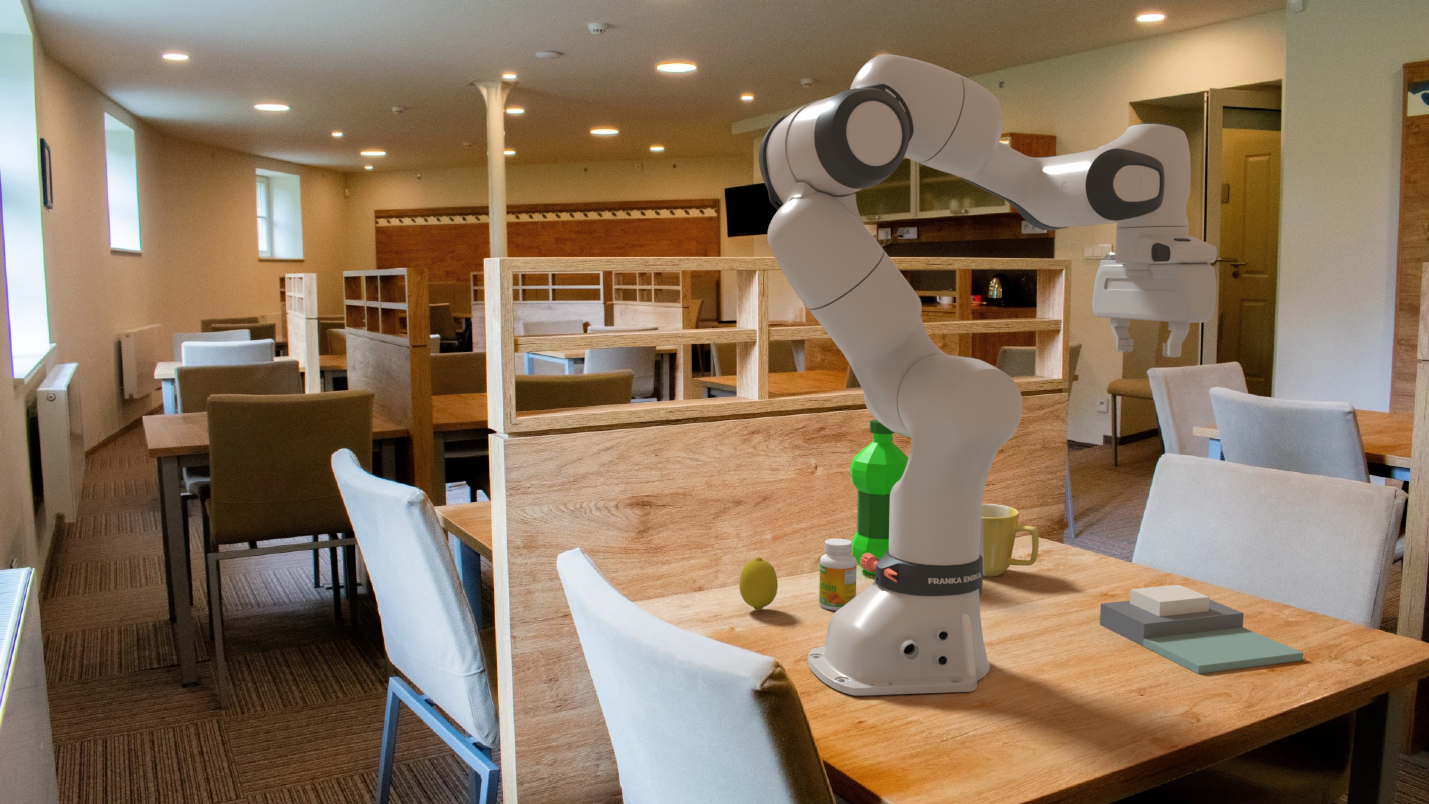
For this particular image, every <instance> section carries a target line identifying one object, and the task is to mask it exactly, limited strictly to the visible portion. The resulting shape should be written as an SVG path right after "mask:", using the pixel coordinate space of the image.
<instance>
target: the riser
mask: <svg viewBox="0 0 1429 804" xmlns="http://www.w3.org/2000/svg"><path fill="white" fill-rule="evenodd" d="M1099 610H1100V613H1099V625H1101V626H1102V627H1104V628H1107V629H1108V630H1111V631H1112V632H1114V633H1116V634H1118V635H1120V636H1122V637H1124V638H1125V639H1128V640H1130V641H1132V642H1134V641H1135V642H1134V643H1137V644H1138V645H1140V644H1141V645H1140V646H1142V647H1144V646H1143V640H1144V639H1146V638H1154V637H1163V636H1172V635H1181V634H1189V633H1198V632H1207V631H1215V630H1224V629H1233V628H1242V627H1243V628H1244V615H1245V612H1242V611H1239V610H1237V609H1235V608H1232V607H1230V606H1227V605H1224V604H1222V603H1219V602H1217V601H1215V600H1213V599H1211V598H1209V611H1206V612H1197V613H1188V614H1178V615H1169V616H1160V617H1159V616H1157V615H1155V614H1153V613H1150V612H1148V611H1146V610H1144V609H1142V608H1139V607H1137V606H1135V605H1133V604H1130V600H1123V601H1112V602H1104V603H1103V602H1102V603H1100V609H1099Z"/></svg>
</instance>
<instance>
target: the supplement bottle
mask: <svg viewBox="0 0 1429 804" xmlns="http://www.w3.org/2000/svg"><path fill="white" fill-rule="evenodd" d="M824 551H825V552H826V553H825V554H823V555H822V556H820V559H819V593H818V595H819V596H818V597H819V598H818V601H819V606H820V607H821V608H822V609H825V610H830V611H835V612H836V611H837V610H839V609H840V608H842V607H843V606H844V605H845V604H847V603H848V602H849V601H851V600H852V599H853V598H854V597H856V596H857V569H858V567H857V565H858V564H857V562H856V558H855V557H854V556H853V554H852V540H849V539H845V538H838V537H837V538H829V539H826V540H825V541H824Z"/></svg>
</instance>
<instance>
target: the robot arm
mask: <svg viewBox="0 0 1429 804" xmlns="http://www.w3.org/2000/svg"><path fill="white" fill-rule="evenodd" d="M1003 126H1004V117H1003V111H1002V108H1001V104H1000V101H999V99H998V98H997V96H995V95H994V93H992V92H991V91H989V90H988V89H987V88H986V87H984V86H983V85H981V84H979V82H977V81H974V80H972V79H970V78H968V77H965V76H964V75H961V74H959V73H956V72H955V71H953V70H952V71H951V70H949V69H947V68H944V67H943V66H940V65H937V64H933V63H931V62H927V61H923V60H921V59H915V58H913V57H907V56H903V55H896V54H892V53H886V54H885V53H884V54H880V55H877V56H875V57H872V58H871V59H870V60H868V61H867V62H866V63H864V65H863V66H861V68H860V69H859V70H858V72H857V73H856V74H855V77H854V78H853V81H852V83H851V84H850V89H846V90H843V91H841V92H839V93H837V94H835V95H833V96H830V97H826V98H823V99H817V100H813V101H810V102H809V103H806V104H803V105H802V106H800V107H799V108H798V109H796V110H794V111H793V112H791V113H789V114H787V115H785V116H782V117H781V118H779V119H778V120H777V121H776V122H775V123H774V124H773V125H771V126H770V128H769V129H768V131H767V132H766V133H765V135H764V136H763V138H762V140H761V143H760V146H759V149H758V165H759V170H760V174H761V177H762V180H763V182H764V184H765V187H766V189H767V193H768V198H769V201H770V204H771V205H772V206H773V207H774V208H775V209H776V213H775V214H774V215H773V217H772V219H771V220H770V223H769V225H768V229H767V243H768V246H769V249H770V251H771V253H772V255H773V257H774V259H775V261H776V262H777V265H778V267H779V268H780V270H781V272H782V274H783V275H784V277H785V278H786V280H787V282H788V283H789V284H790V286H791V288H792V289H793V290H794V292H795V294H796V295H797V296H798V298H799V299H800V300H801V302H802V303H803V304H804V306H805V308H807V310H808V311H809V312H810V313H811V315H812V316H813V317H814V319H816V321H817V322H818V324H819V325H820V326H821V328H823V331H825V333H826V334H827V335H828V336H829V337H830V339H831V340H832V341H833V343H834V344H835V345H836V347H837V348H838V349H839V351H841V353H842V354H843V356H844V357H845V359H846V360H847V363H848V364H849V366H850V368H851V369H852V371H853V374H854V375H855V377H856V379H857V381H858V383H859V385H860V387H861V389H862V393H863V394H862V395H863V399H864V400H863V401H864V404H865V407H866V409H867V411H868V412H869V413H870V415H871V416H872V417H874V420H878V421H879V422H880V423H881V424H883V425H884V426H885V427H887V428H888V429H889V430H891V431H892V432H894V433H893V434H897V435H899V436H903V437H907V438H910V439H911V442H910V443H911V445H910V450H909V451H910V452H909V455H908V462H907V465H906V468H905V471H904V473H903V475H902V477H901V479H900V480H899V481H898V482H896V484H895V485H894V486H893V488H892V490H891V493H890V513H889V549H888V550H887V551H886V553H885V555H884V556H883V557H882V558H881V559H880V560H879V559H878V558H877V557H875V556H874V555H872V554H870V553H865V554H863V555H862V556H864V557H861V558H860V559H861V560H860V562H861V564H860V565H862V567H863V568H865V569H867V570H868V571H870V572H874V571H875V575H874V576H875V577H874V580H873V582H871V584H870V585H868V586H866V587H865V588H864V589H863V590H861V592H860V593H858V594H856V597H854V598H853V599H852V600H851V601H849V602H848V603H847V604H845V605H844V606H843V607H842V608H840V609H839V610H837V611H835V612H833V614H832V616H831V619H830V621H829V624H828V628H827V633H826V639H825V645H823V646H819V647H814V648H811V649H809V652H808V654H807V655H808V656H807V665H808V667H809V669H810V670H811V672H812V673H813V674H814V675H815V676H816V677H817V678H818V679H819V680H821V681H822V682H823V683H824V684H826V685H827V686H829V687H830V688H832V689H835V690H836V691H839V692H841V693H844V694H847V695H849V696H850V695H851V696H884V695H907V694H908V695H909V694H913V695H915V694H939V693H940V694H941V693H962V692H963V693H964V692H973V691H975V690H976V689H977V687H978V682H979V681H980V679H982V678H984V677H985V676H986V675H987V674H989V673H990V669H991V665H990V663H989V659H988V655H987V652H986V646H985V642H984V636H983V628H982V626H983V625H982V618H981V605H980V597H981V596H982V591H983V590H982V589H983V580H984V576H983V558H982V556H981V555H980V529H981V511H982V504H983V497H984V492H985V489H986V488H985V487H986V484H987V479H988V476H989V473H990V470H991V468H992V466H993V463H994V461H995V458H996V455H997V454H998V453H999V450H1000V448H1002V447H1003V446H1004V445H1005V444H1006V443H1008V442H1009V441H1010V439H1012V438H1013V436H1014V435H1015V434H1016V432H1017V430H1018V428H1019V425H1020V424H1021V420H1022V416H1023V411H1024V410H1023V409H1024V408H1023V407H1024V406H1023V404H1024V403H1023V397H1022V393H1021V391H1020V390H1021V389H1020V387H1019V386H1018V384H1017V383H1016V381H1015V380H1014V379H1013V377H1011V376H1010V375H1009V374H1008V373H1006V372H1004V371H1003V370H1001V369H1000V368H997V367H996V366H994V365H992V364H990V363H988V362H986V361H984V360H981V359H978V358H974V357H967V356H957V355H952V354H951V355H950V354H947V353H946V352H944V351H943V350H942V349H940V348H939V347H937V345H936V344H935V343H934V342H933V340H932V338H931V337H930V335H929V333H928V331H927V329H926V327H925V325H924V321H923V319H922V308H923V306H922V301H921V298H920V296H919V295H918V294H917V293H916V291H915V289H914V288H913V287H912V285H911V284H910V282H909V281H908V280H907V279H906V278H905V276H904V275H903V274H902V272H901V271H900V270H899V268H898V266H896V264H895V263H894V262H893V260H892V259H891V257H889V255H888V253H887V252H886V251H885V250H884V248H883V247H882V246H881V244H880V243H879V242H878V240H877V239H876V238H875V236H874V235H872V233H871V232H870V231H869V230H868V229H867V228H866V225H865V223H864V222H863V219H862V217H861V214H860V212H859V211H860V210H859V209H858V208H859V207H858V205H857V204H858V203H857V194H856V193H857V192H859V191H861V190H863V189H864V190H865V189H869V188H872V187H875V186H876V185H879V184H880V183H882V182H883V181H885V180H886V179H888V178H889V177H890V176H891V175H892V174H893V173H894V172H895V171H896V170H897V169H898V168H899V166H901V163H902V162H903V161H904V160H903V159H904V158H906V159H908V160H911V161H913V162H916V163H918V164H921V165H923V166H925V167H929V168H932V169H934V170H938V171H940V172H943V173H947V174H950V175H953V176H955V177H957V178H958V179H961V180H962V181H965V182H967V183H968V184H971V185H973V186H975V187H977V188H979V189H981V190H983V191H985V192H987V193H989V194H992V195H994V196H996V197H997V198H1000V199H1002V200H1003V201H1005V202H1007V203H1008V204H1009V205H1010V206H1012V207H1013V208H1014V209H1015V211H1016V212H1017V213H1018V214H1019V215H1020V216H1021V217H1022V218H1023V219H1024V220H1025V221H1026V222H1027V223H1028V224H1030V225H1031V226H1032V227H1034V228H1036V229H1038V230H1040V231H1041V230H1042V231H1046V232H1049V231H1050V232H1051V231H1056V230H1062V229H1068V228H1074V227H1087V226H1098V225H1099V226H1100V225H1109V224H1110V225H1111V224H1115V223H1116V232H1115V233H1116V234H1115V235H1116V237H1115V251H1108V252H1107V253H1106V254H1105V255H1104V257H1102V259H1101V260H1100V262H1099V268H1098V269H1097V272H1096V275H1095V278H1094V285H1093V292H1092V304H1091V308H1092V309H1091V310H1092V312H1093V315H1094V316H1095V317H1096V318H1102V319H1104V318H1106V319H1110V324H1109V325H1110V328H1111V331H1112V334H1113V337H1114V339H1115V350H1116V352H1118V353H1131V352H1133V350H1134V342H1135V341H1134V338H1130V337H1131V336H1130V333H1129V329H1128V327H1130V325H1131V323H1130V322H1131V321H1130V320H1140V321H1154V322H1155V321H1156V322H1168V331H1171V332H1170V334H1169V337H1168V339H1167V342H1162V356H1163V357H1166V358H1179V357H1181V356H1182V351H1183V349H1182V348H1183V343H1184V341H1185V339H1186V338H1187V336H1188V334H1189V332H1190V328H1191V327H1190V325H1191V323H1192V324H1193V323H1194V324H1195V323H1196V324H1197V323H1208V322H1209V321H1210V320H1211V319H1212V317H1213V316H1214V313H1215V312H1216V311H1215V310H1216V300H1217V274H1216V271H1215V269H1214V267H1213V265H1211V264H1213V263H1214V262H1216V260H1217V256H1218V249H1217V247H1216V246H1215V245H1213V244H1212V243H1211V244H1210V243H1208V242H1206V241H1205V240H1201V239H1199V238H1197V237H1196V236H1195V237H1194V236H1192V235H1190V234H1189V230H1190V229H1189V228H1190V227H1189V220H1188V215H1187V204H1188V200H1189V198H1190V195H1191V182H1192V181H1191V180H1192V179H1191V177H1192V176H1191V174H1192V173H1191V172H1192V167H1191V166H1192V165H1191V151H1190V144H1189V141H1188V140H1189V139H1188V138H1187V135H1186V133H1185V131H1183V130H1182V129H1181V128H1179V127H1177V126H1175V125H1172V124H1168V123H1162V122H1160V123H1157V122H1141V123H1137V124H1132V125H1130V126H1129V127H1127V128H1126V129H1125V131H1124V133H1123V134H1121V135H1120V136H1119V137H1117V138H1116V139H1113V140H1112V141H1110V142H1109V143H1106V144H1104V145H1101V146H1099V147H1097V148H1095V149H1091V150H1089V149H1088V150H1086V151H1081V152H1074V153H1068V154H1061V155H1048V156H1039V157H1033V156H1028V155H1025V154H1023V153H1022V152H1020V151H1018V150H1016V149H1014V148H1012V147H1010V146H1009V145H1007V144H1005V143H1002V142H1001V136H1002V133H1003V128H1004V127H1003ZM776 202H777V203H778V204H777V203H776ZM779 205H781V206H779Z"/></svg>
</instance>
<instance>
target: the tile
mask: <svg viewBox="0 0 1429 804" xmlns="http://www.w3.org/2000/svg"><path fill="white" fill-rule="evenodd" d="M1129 591H1130V592H1129V593H1130V594H1129V601H1130V604H1133V605H1135V606H1137V607H1139V608H1142V609H1144V610H1146V611H1148V612H1150V613H1153V614H1155V615H1157V616H1159V617H1160V616H1169V615H1178V614H1188V613H1197V612H1206V611H1209V599H1210V596H1208V595H1206V594H1202V593H1200V592H1198V591H1195V590H1193V589H1190V588H1188V587H1185V586H1183V585H1180V584H1171V585H1162V586H1161V585H1159V586H1150V587H1149V586H1148V587H1141V588H1130V589H1129Z"/></svg>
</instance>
